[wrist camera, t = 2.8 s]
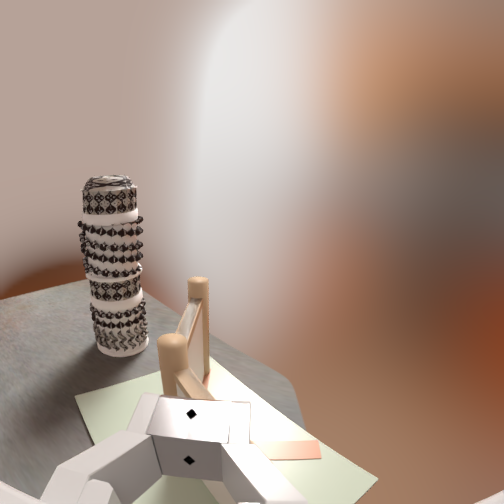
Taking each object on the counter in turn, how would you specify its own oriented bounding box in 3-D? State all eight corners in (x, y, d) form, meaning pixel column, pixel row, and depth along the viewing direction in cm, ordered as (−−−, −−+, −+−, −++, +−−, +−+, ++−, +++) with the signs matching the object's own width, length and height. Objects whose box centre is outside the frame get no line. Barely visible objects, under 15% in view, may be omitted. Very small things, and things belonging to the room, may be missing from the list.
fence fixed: (193, 367, 42) (189, 276, 38) (210, 369, 42) (209, 277, 38) (170, 454, 27) (153, 347, 23) (194, 457, 27) (183, 350, 23)
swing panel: (185, 456, 26) (173, 372, 23) (197, 452, 27) (190, 368, 24) (245, 539, 18) (252, 473, 15) (260, 531, 18) (273, 463, 15)
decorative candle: (154, 356, 44) (143, 176, 37) (92, 360, 41) (69, 180, 34) (149, 326, 52) (142, 173, 45) (96, 329, 49) (81, 176, 42)
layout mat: (75, 398, 32) (74, 395, 32) (208, 356, 45) (208, 354, 45) (205, 606, 11) (205, 605, 11) (377, 480, 24) (378, 478, 24)
